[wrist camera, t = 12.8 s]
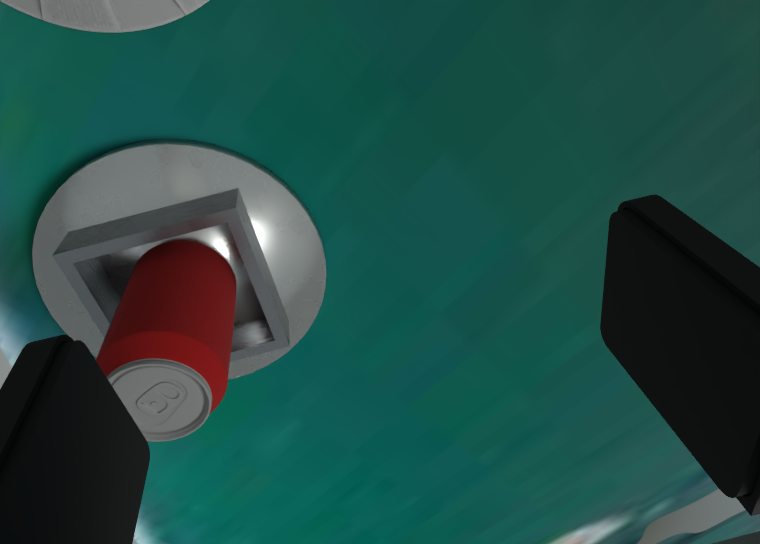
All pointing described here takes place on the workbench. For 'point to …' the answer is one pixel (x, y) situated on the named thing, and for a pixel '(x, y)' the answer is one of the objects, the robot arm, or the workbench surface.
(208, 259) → the beverage can
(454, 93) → the workbench surface
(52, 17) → the ring
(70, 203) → the rosette plate
